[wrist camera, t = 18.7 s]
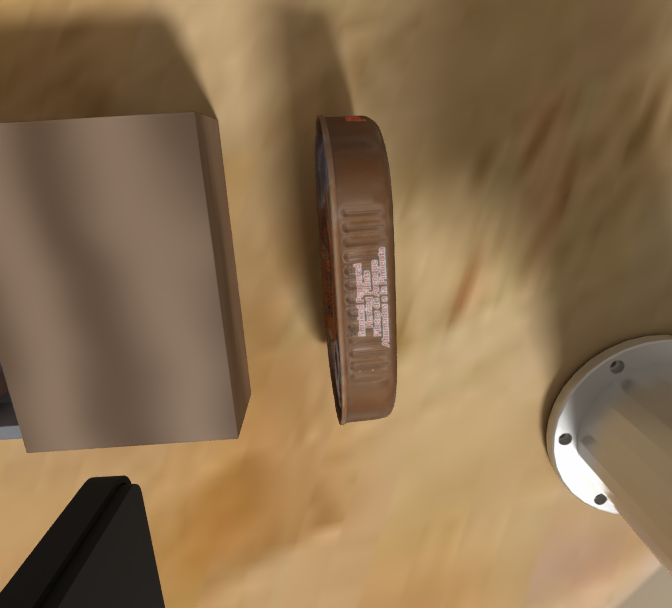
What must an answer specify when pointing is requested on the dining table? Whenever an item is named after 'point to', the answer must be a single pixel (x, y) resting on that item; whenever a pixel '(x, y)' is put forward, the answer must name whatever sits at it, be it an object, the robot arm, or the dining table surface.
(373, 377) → the tin
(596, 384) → the robot arm
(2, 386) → the terracotta tile
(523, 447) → the dining table surface
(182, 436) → the brown flat block
